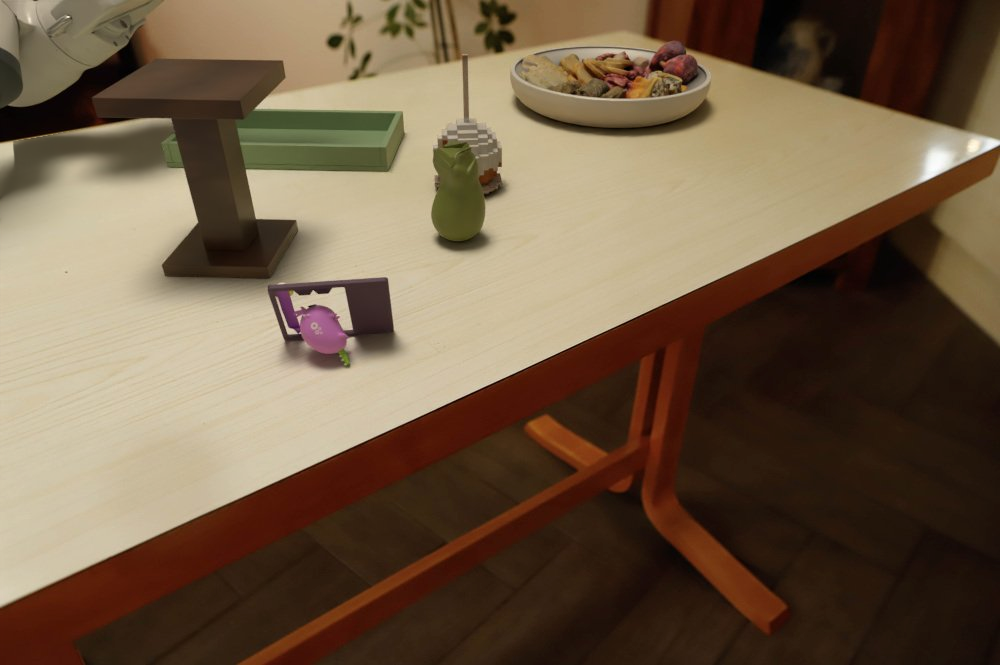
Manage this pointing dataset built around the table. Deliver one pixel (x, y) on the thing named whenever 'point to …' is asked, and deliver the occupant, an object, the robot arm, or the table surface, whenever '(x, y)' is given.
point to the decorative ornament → (474, 141)
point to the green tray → (313, 140)
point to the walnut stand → (209, 157)
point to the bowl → (611, 84)
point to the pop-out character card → (322, 323)
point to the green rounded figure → (457, 193)
